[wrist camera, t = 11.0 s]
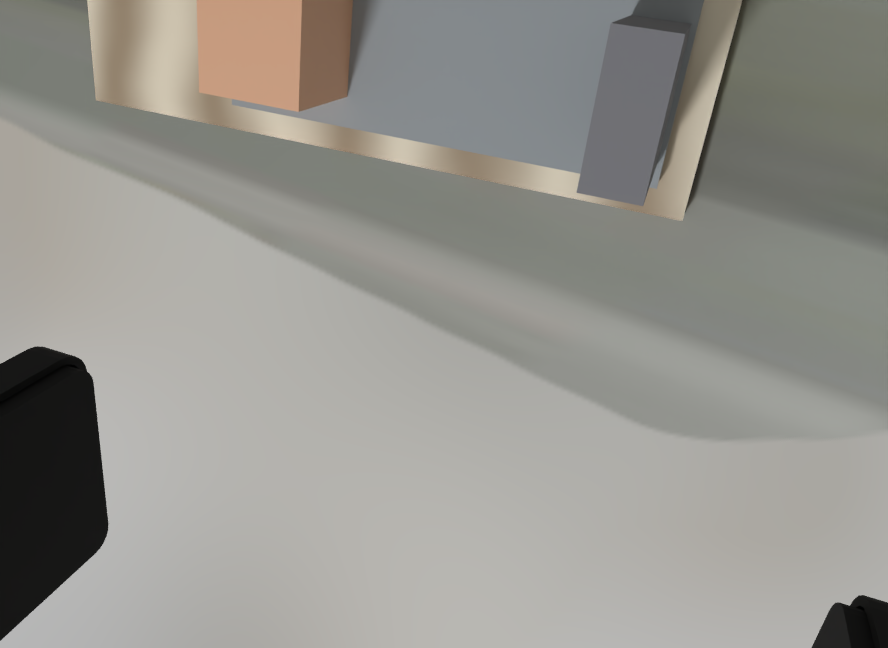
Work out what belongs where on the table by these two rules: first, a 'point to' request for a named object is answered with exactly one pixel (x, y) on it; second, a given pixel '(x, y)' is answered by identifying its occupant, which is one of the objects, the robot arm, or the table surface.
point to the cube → (275, 51)
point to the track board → (177, 94)
